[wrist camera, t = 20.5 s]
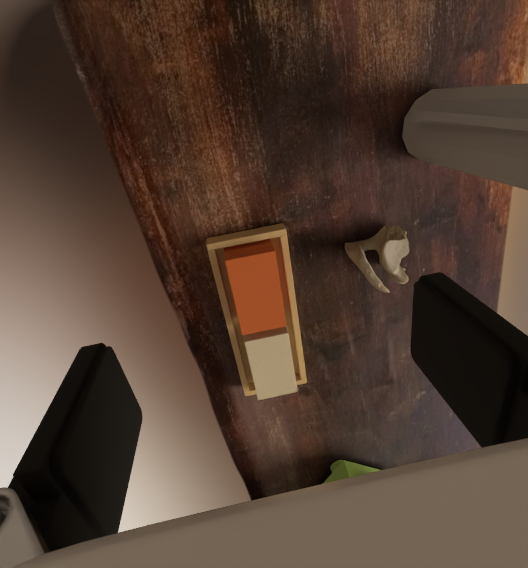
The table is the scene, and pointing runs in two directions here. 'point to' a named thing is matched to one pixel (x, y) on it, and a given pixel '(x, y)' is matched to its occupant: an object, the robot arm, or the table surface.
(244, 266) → the orange angular block
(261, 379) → the cream rectangular block
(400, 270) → the bone
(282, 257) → the wooden tray
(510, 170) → the water bottle
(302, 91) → the table surface
